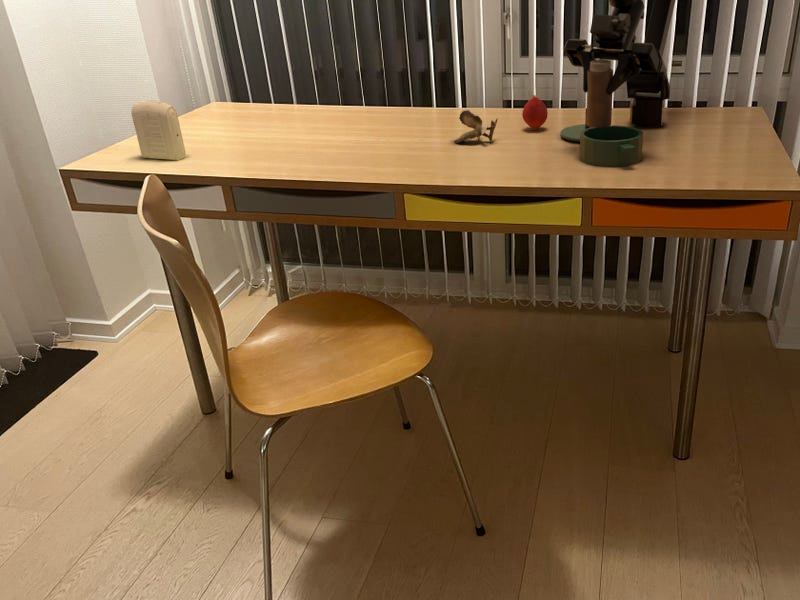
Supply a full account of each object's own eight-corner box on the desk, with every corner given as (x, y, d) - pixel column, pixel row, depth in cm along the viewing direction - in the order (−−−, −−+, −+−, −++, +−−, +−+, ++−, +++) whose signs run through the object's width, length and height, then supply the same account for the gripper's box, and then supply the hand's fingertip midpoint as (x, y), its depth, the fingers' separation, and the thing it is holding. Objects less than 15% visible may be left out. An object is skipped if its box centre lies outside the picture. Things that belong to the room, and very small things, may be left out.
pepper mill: (605, 120, 165) (607, 55, 159) (615, 125, 161) (617, 59, 154) (582, 122, 164) (583, 57, 158) (592, 128, 160) (593, 62, 153)
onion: (547, 126, 190) (547, 91, 186) (547, 132, 185) (547, 97, 181) (523, 126, 190) (522, 92, 186) (522, 133, 185) (521, 97, 181)
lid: (607, 126, 187) (607, 99, 184) (631, 140, 176) (632, 112, 173) (552, 132, 185) (552, 105, 182) (573, 147, 173) (573, 118, 170)
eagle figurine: (497, 130, 183) (459, 123, 184) (498, 108, 177) (459, 100, 178) (489, 156, 180) (451, 148, 181) (489, 134, 174) (450, 126, 175)
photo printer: (189, 155, 181) (177, 99, 174) (178, 161, 177) (164, 104, 171) (151, 153, 183) (137, 98, 177) (139, 159, 180) (124, 102, 174)
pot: (620, 143, 174) (622, 120, 172) (658, 165, 159) (659, 140, 157) (566, 149, 172) (566, 126, 169) (598, 173, 157) (599, 147, 154)
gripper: (568, -5, 158) (540, 64, 156) (657, -3, 149) (629, 71, 147) (586, 31, 168) (560, 97, 165) (670, 35, 158) (644, 105, 156)
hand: (596, 92), depth 158 cm, fingers closed on pepper mill, 5 cm apart
